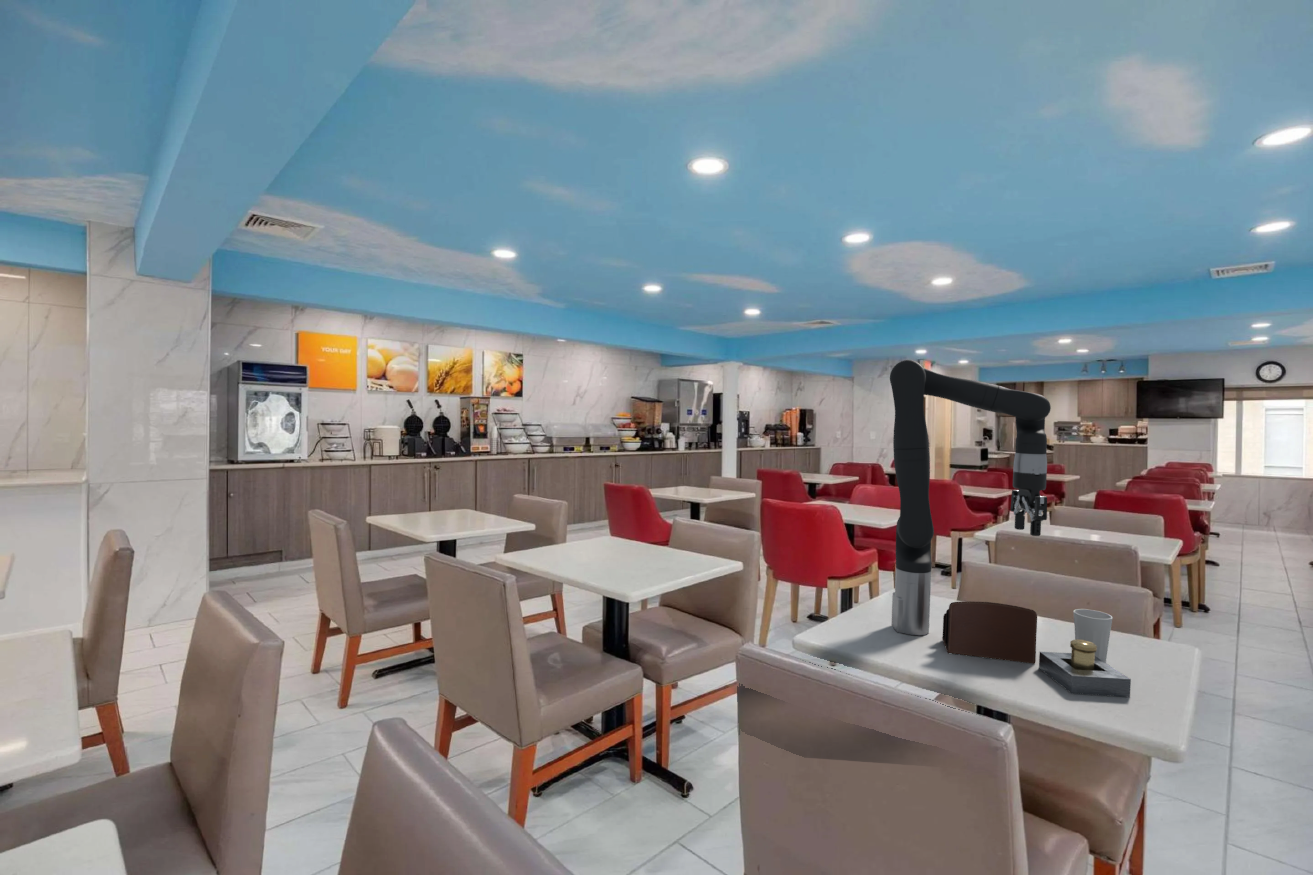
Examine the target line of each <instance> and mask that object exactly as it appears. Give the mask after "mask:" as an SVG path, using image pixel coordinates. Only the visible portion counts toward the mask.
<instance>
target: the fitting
mask: <svg viewBox="0 0 1313 875" xmlns="http://www.w3.org/2000/svg"><path fill="white" fill-rule="evenodd" d="M1069 645H1070V646H1069V647H1070V648H1071V652H1070V653H1071V667H1073V668H1074V669H1076V670H1091V671H1094V661H1095V652H1097V646H1096V645H1095V644H1094V643H1092V642H1089V641H1085V640H1078V639H1076V640H1075V639H1072V640H1070V643H1069Z"/></svg>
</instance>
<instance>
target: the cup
mask: <svg viewBox="0 0 1313 875" xmlns="http://www.w3.org/2000/svg"><path fill="white" fill-rule="evenodd" d="M1072 612H1073V623H1074V640H1076V639H1078V640H1085V641H1089V642H1092V643H1094V644H1095V645H1096V646H1097V652H1095V656H1096V657H1097V658H1099V659H1101V660H1102V661H1104V662H1105V663H1107V656H1108V651H1109V650H1108V649H1109V642H1110V637H1111V630H1112V626H1113V625H1112V624H1113V616H1112V615H1110V614H1109V613H1106V612H1104V611H1100V610H1094V609H1087V608H1076V609H1074V610H1072Z"/></svg>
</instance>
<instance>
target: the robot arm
mask: <svg viewBox="0 0 1313 875" xmlns="http://www.w3.org/2000/svg"><path fill="white" fill-rule="evenodd" d="M889 382H890V385H891V390H892V391H891V392H892V396H893V403H894V404H893V405H894V425H893V439H892V440H893V444H892V445H893V446H892V447H893V448H892V449H893V463H894V471H895V476H896V482H897V487H898V491H899V492H898V493H899V502H900V506H899V508H900V509H899V517H898V519H897V521H896V527H895V574H894V575H895V578H894V580H895V582H894V583H895V584H894V592H892V601H891V602H892V603H891V626H892V628H893V629H894V630H895V631H896V633H902V634H906V635H912V636H925V635H928V634H929V633H930V614H931V612H930V611H931V608H930V607H931V590H932V589H931V588H932V587H931V586H932V554H931V553H932V552H931V550H932V547H931V546H932V539H933V537H934V535H935V530H934V529H935V528H934V524H933V519H932V512H931V504H930V480H931V479H930V478H931V474H930V473H931V458H930V452H931V451H930V441H929V432H928V428H927V422H926V418H925V417H926V416H925V410H924V408H925V406H924V401H925V399H924V398H925V396H930V397H937V398H940V399H944V400H948V401H952V402H955V403H958V404H961V405H965V406H969V407H972V408H976V409H979V410H984V411H988V412H991V413H998V414H1005V415H1009V416H1012V417H1014V418H1015V428H1016V429H1015V430H1016V437H1015V448H1014V449H1015V451H1014V452H1015V453H1014V459H1013V469H1012V470H1013V472H1012V487H1013V488H1014V489H1012V491H1011V501H1010V512H1013V515H1014V529H1015V530H1019V531H1020V530H1021V531H1022V530H1024V529H1025V523H1026V516H1025V515H1026V513H1027V514H1028V515H1029V517H1030V525H1029V526H1030V528H1029V529H1030V530H1029V534H1030V536H1031V537H1032V536H1033V537H1039V536H1041V532H1042V531H1041V530H1042V522H1043V521H1047V519H1048V497H1047V496H1045V495H1041V491H1045V490H1046V488H1047V477H1048V476H1047V472H1048V458H1047V457H1048V456H1047V450H1048V438H1047V437H1048V436H1047V434H1046V431H1045V430H1046V428H1045V426H1046V418H1047V417H1048V416H1049V414H1050V412H1051V409H1052V408H1051V407H1052V406H1051V402H1050V401H1049V400H1048V398H1046V397H1045V396H1044V395H1042V394H1039V393H1034V392H1028V391H1023V390H1018V389H1010V388H1007V387H1004V386H1001V385H997V384H992V383H988V382H985V381H980V380H979V381H978V380H973V379H968V378H961V377H955V376H954V377H953V376H949V375H946V374H941V373H937V372H935V371H931V370H929V369H927V368H924V367H923V366H922V365H921V364H920V363H919V362H918V361H915V360H911V359H905V360H901V361H899V362H897V363H896V364H895V365H894V366H893V367H892V369H891V371H890V373H889Z"/></svg>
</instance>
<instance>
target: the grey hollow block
mask: <svg viewBox="0 0 1313 875" xmlns="http://www.w3.org/2000/svg"><path fill="white" fill-rule="evenodd" d="M1038 661H1039V662H1038V669H1039V670H1041V671H1042V672H1043V673H1045V674H1046V675H1047V676H1048V677H1049V678H1051V679H1052V680H1053V681H1055V682H1056V683H1057V684H1058V685H1060V686H1061V687H1062V688H1063V689H1065V690H1066V691H1067V692H1068V693H1070V694H1071V695H1085V696H1087V695H1088V696H1103V697H1105V696H1106V697H1121V698H1131V686H1132V685H1131V682H1132V679H1131V678H1130V677H1128V676H1127V675H1126V674H1123V673H1122V672H1121V671H1119V670H1118V669H1116V668H1114V667H1113V666H1111V665H1109V664H1108V663H1107V662H1106V663H1105V662H1104V661H1102V660H1101V659H1099V658H1097V657H1096V656H1095V661H1094V671H1091V670H1076V669H1074V668H1073V667H1071V652H1055V651H1053V652H1052V651H1039V659H1038Z"/></svg>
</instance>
